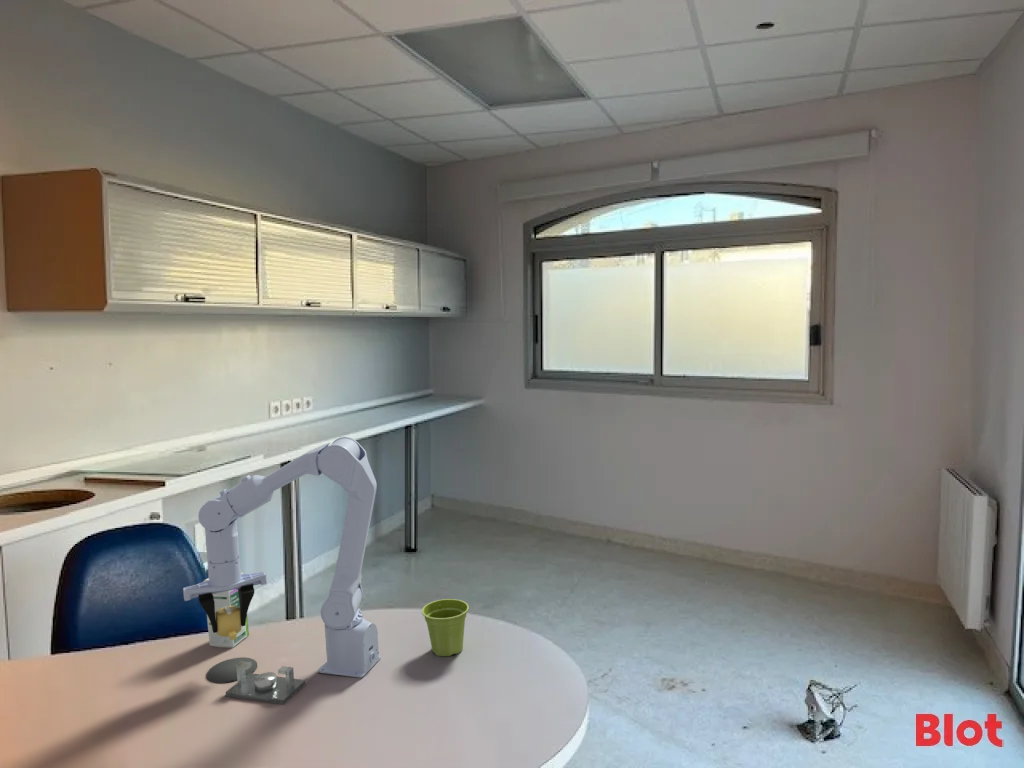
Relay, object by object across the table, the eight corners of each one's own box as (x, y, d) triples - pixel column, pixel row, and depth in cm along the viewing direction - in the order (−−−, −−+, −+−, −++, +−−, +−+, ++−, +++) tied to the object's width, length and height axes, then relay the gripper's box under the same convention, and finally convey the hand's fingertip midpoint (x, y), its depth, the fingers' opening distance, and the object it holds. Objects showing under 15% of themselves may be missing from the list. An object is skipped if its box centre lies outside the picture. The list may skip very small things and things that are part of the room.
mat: (266, 661, 136) (266, 660, 136) (237, 685, 127) (236, 683, 127) (228, 656, 138) (228, 655, 138) (196, 679, 129) (196, 678, 129)
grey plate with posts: (305, 684, 127) (304, 660, 126) (283, 704, 120) (282, 679, 120) (249, 677, 130) (248, 653, 129) (225, 696, 123) (223, 671, 123)
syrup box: (233, 648, 142) (228, 580, 140) (208, 646, 143) (202, 579, 141) (249, 635, 147) (244, 570, 146) (224, 634, 148) (219, 569, 147)
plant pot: (417, 659, 134) (414, 617, 133) (432, 637, 143) (430, 597, 143) (462, 663, 132) (460, 620, 131) (475, 640, 141) (474, 599, 141)
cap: (245, 636, 129) (244, 614, 129) (220, 642, 127) (219, 620, 126) (237, 619, 136) (235, 598, 135) (213, 625, 134) (211, 604, 133)
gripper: (260, 545, 137) (264, 610, 139) (180, 560, 130) (185, 628, 132) (266, 555, 131) (271, 623, 133) (182, 571, 124) (188, 643, 126)
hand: (228, 627), depth 132 cm, fingers closed on cap, 4 cm apart
